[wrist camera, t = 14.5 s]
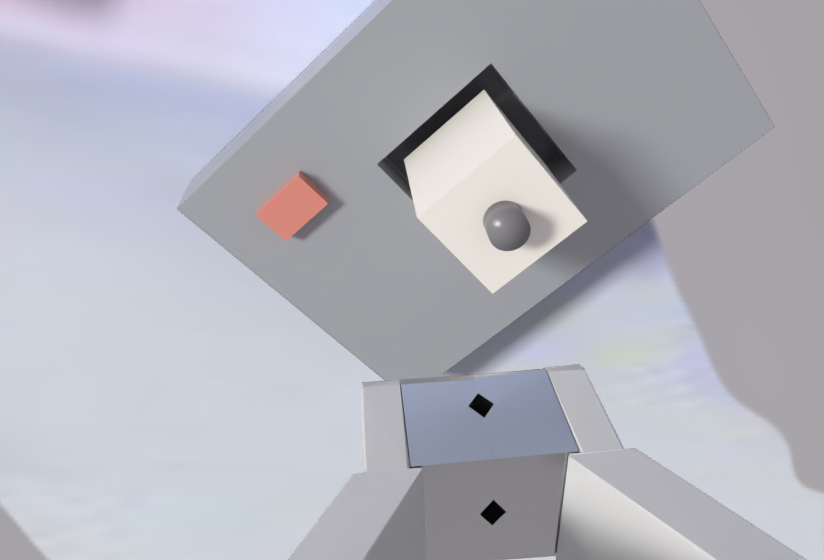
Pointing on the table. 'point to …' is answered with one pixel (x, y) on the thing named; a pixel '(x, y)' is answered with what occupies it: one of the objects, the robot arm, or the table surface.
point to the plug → (489, 194)
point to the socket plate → (428, 111)
